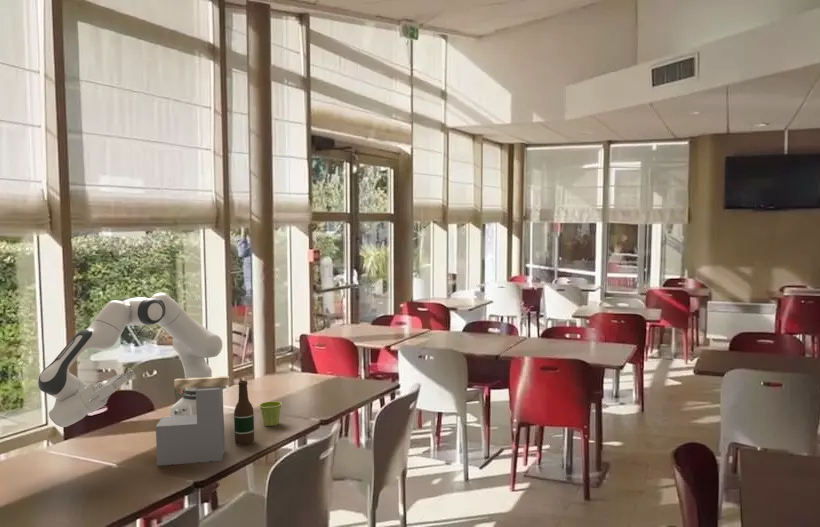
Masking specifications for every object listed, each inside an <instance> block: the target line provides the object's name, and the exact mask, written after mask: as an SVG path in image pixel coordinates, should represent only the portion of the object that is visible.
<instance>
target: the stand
mask: <svg viewBox="0 0 820 527" xmlns="http://www.w3.org/2000/svg"><path fill="white" fill-rule="evenodd" d="M223 389H224V386H214V387H198V388H197V389H196V410H197V415H190V416H175V417H169V416H162V417H161V418H160V420H158V422H157V424H156V426H155V440H156V442H155V443H156V465H157V466H169V465H172V464H173V465H183V464H184V465H185V464H186V465H187V464H196V463H197V462H200V463H210V462H209V461H213V462H222V461H223V457H224V455H223V454H225V451H226V448H225V447H226V445H225V444H226V443H225V441H226V440H225V421H224V420H225V419H224V418H225V416H224V415H225V414H224V413H225V412H224V392H223V391H224V390H223Z"/></svg>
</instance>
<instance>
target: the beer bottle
mask: <svg viewBox="0 0 820 527" xmlns="http://www.w3.org/2000/svg"><path fill="white" fill-rule="evenodd" d="M237 385H238V399H237V400H238V401H237V403H236V405H235V408H234V411H233V412H234V414H233V420H234V421H233V423H234V443H235V445H238V446H246V445H247V446H248V444H249V445H251V444H253V442H255V418H254V416H255V414H254V407H253V404H252V403H251V402H250V400H249V392H248V385H249V383H248V381H247V380H240V381H238V384H237Z"/></svg>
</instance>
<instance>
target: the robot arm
mask: <svg viewBox="0 0 820 527" xmlns="http://www.w3.org/2000/svg"><path fill="white" fill-rule="evenodd" d="M155 324H158V325H159V326H160V327H161V328H163V330H164V331H165V332H166V333H167V334H168V335H169V336H170V337H172V338H173V339H172V348H173V350H174V351H175V352H176V353H177V355H178V358H180V361H181V364H182V367H183V371H184V378H202V377H213V371H212V368H211V367H210V366H209V364H208V363H207V361H206V359H211V358H215V357H218V356H219V355H220V353H221V352H222V349H223V340H222V338H221V337H220V336H219V335H218V334H215V333H213V332H212V331H210V330H209V329H208V328H206V327H205V326H204V325H202V324H200V323H199V322H197V321H196V320H195V319H194V318H192V317H191V316H190V315H189V314H188V312H186V310H185V309H184V308H182V306H181V305H180V304H179V303H178V302H177V301H176V300H174V299H173V298H172V297H171V296H170V295H168V294H167V293H164V292H157V293H155V294H152V296H151V297H142V296H139V297H126V298H123V299H121V300H110V301H109V302H107V303H106V304H105V305H104V306H103V308H101V309H100V311H99V312H98V314H97V315H96V317H95V318H94V320H93V321H92V322H91V324H89V326H88V327H87V328H85V329H82V330H80V331H78V332H77V333H76V334H75V335H74V336H73V337H72V338H71V339H70V341H68V343H67V344H66V345H65V346H64V347H63V349H62V350H61V352H60V353H59V354H58V355H57V356H56V357H55V358H54V360H53V361H52V362H51V363H50V364H48V366H47V367H45V368H44V369H43V370H42V371H41V372H40V374H39V376H38V380H37V381H38V382H37V383H38V384H37V385H38V388H39V390H40V391H41V392H43V393H45V394H47V395H49V396H52V397H53V398H55V402H54V405H53V407H52V408H51V410H49V412H48V417H49V418H50V420H51V422H53V423H54V424H55V425H56V426H58V427H61V428H66V427H69V426H71V425H73V424H75V423H77V422H79V421H81V420H83V419H84V418H85V417H86V416H87V415H88V414H90V413H94V412H95V411H97V410H98V409H101V408H102V407H103V406H106V405H107V403H108V400H109V399H110V397H111V395H113V394H114V393H115V392H116V391H118V390H119V388H121V387H122V386H123V385H124V384H125V383H126V382H127V381H129V379H130V378H131V377H133V376H134V375H135V372H134V370H133V369H132V370H129V371H127V372H126V373H122V372H121V373H118V374H115V375H113V376H112V377H109V378H107V379H106V380H103V381H98V382H95V383H94V382H92V383H90V384H89V385H87V384H86V383H85V381H83V380H82V379H81V378H80V377H77V376H76V375H74V374H73V373H71V372H70V368H71V366H72V365H73V364H74V363H75V361H76V360H77V359H78V358H79V356H81V354H82V353H83V352H84V351H86V350H88V349H93V350H99V351H101V350H109V349H110V348H113V347H114V346H115V344H117V342H118V341H119V339H120V338H121V335H122V333H123V332H124V330H125V328H126V326H127V325H132V326H133V325H134V326H145V325H146V326H152V325H155ZM197 388H198V387H197ZM197 388H186V389H184V390H183V391H180V392H182V393H183V396H182V398H181V399H180V400H179V401H176V403H174V404H173V405H171V407H170V411H169V416H168V417H175V416H190V415H197V410H196V389H197ZM182 393H180V394H182Z"/></svg>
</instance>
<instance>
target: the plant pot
mask: <svg viewBox="0 0 820 527" xmlns="http://www.w3.org/2000/svg"><path fill="white" fill-rule="evenodd" d="M282 406H283V403H282V402H280V401H274V400H271V401H266V402H265V401H264V402H262V403H259V405H258V407H259V408H260V410H261V415H262V420H263V425H264V426H265V427H272V426H274V425H275V426H278V425H279V424H280V413H281V407H282ZM277 424H278V425H277Z"/></svg>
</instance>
